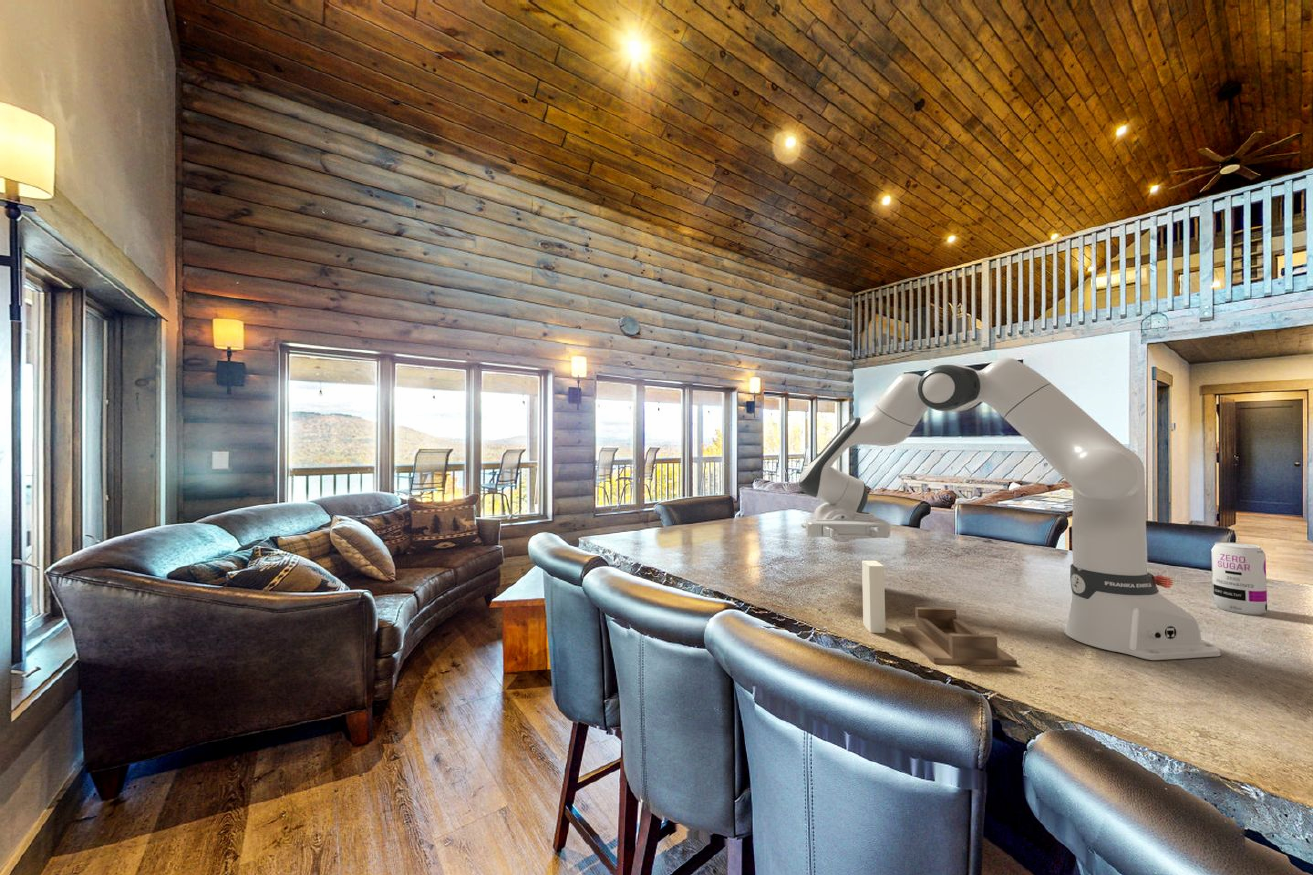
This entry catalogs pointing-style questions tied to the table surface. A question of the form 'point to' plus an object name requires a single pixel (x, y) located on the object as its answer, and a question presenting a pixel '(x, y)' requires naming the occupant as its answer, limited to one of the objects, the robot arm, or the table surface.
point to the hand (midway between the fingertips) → (854, 534)
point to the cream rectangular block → (873, 596)
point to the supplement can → (1239, 578)
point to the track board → (953, 640)
